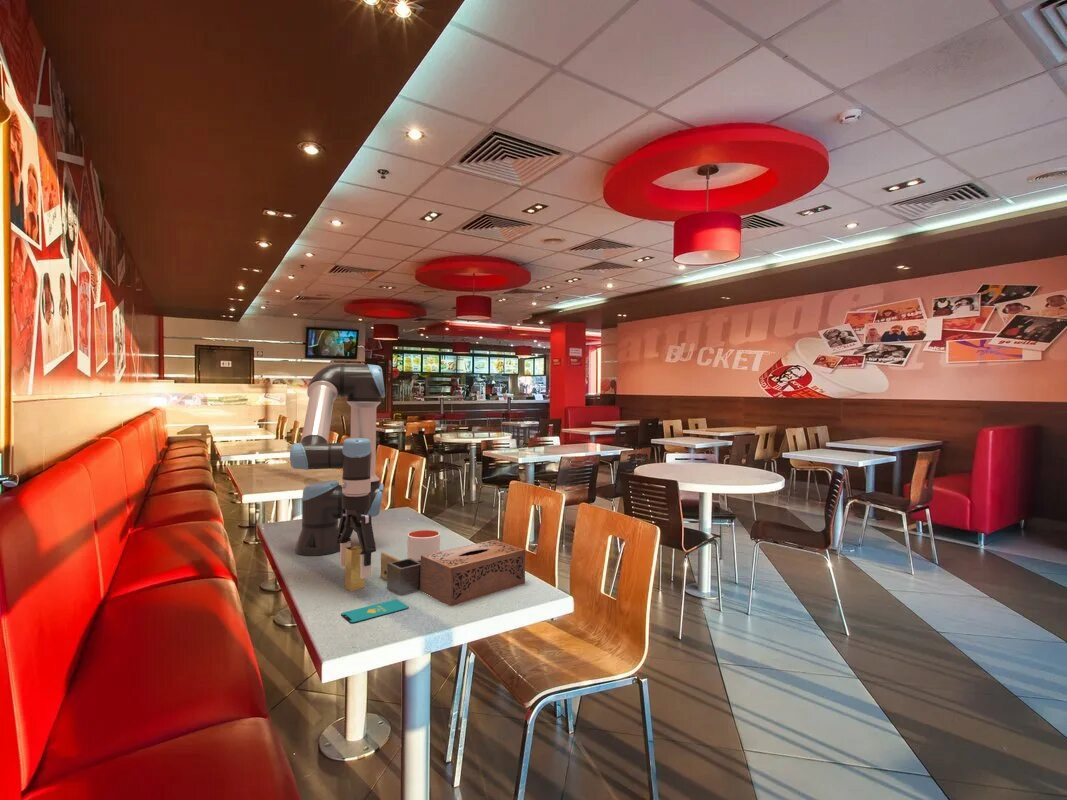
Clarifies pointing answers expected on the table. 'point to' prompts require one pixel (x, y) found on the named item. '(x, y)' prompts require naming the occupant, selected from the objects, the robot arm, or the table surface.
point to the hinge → (401, 574)
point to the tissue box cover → (471, 571)
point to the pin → (353, 568)
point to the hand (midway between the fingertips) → (355, 571)
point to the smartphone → (374, 611)
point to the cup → (422, 543)
